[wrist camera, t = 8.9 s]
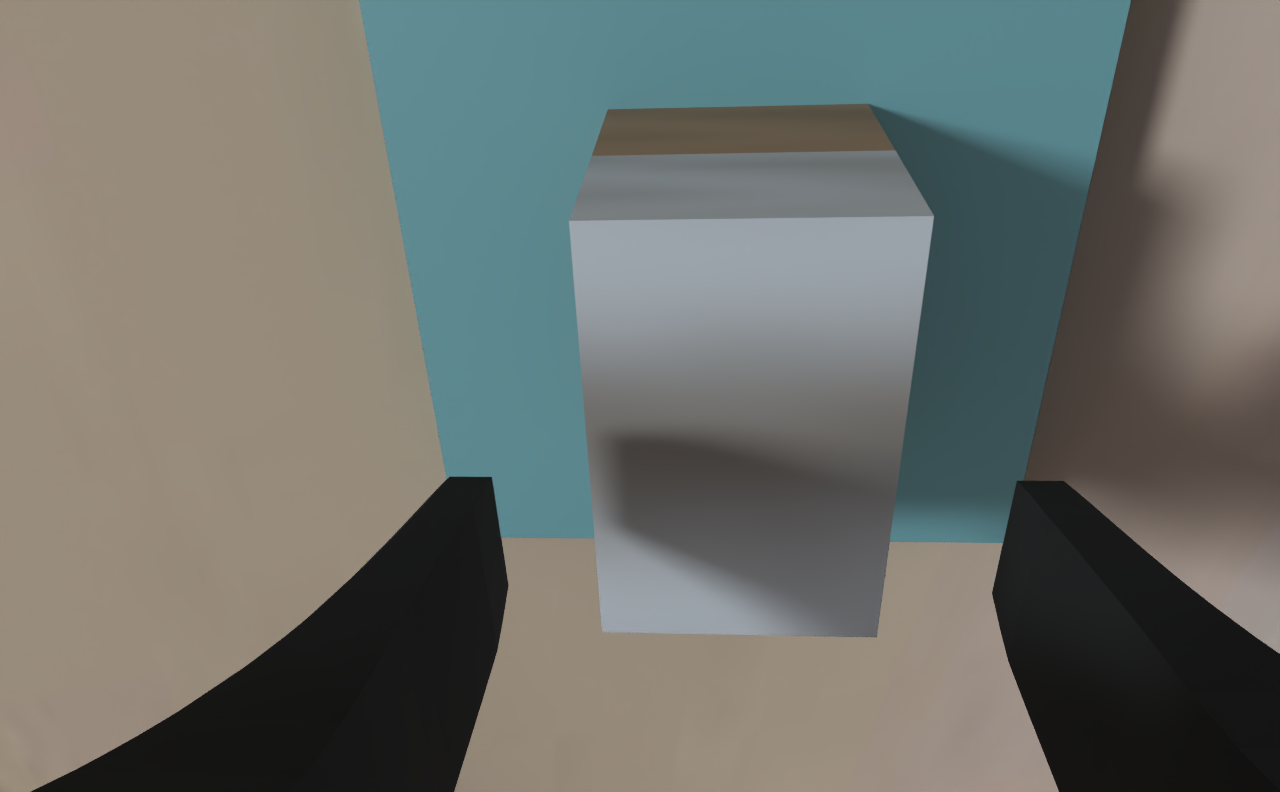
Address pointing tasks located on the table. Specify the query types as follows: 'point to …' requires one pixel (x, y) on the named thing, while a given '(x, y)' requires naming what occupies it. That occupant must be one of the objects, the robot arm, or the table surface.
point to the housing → (746, 364)
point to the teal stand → (731, 77)
